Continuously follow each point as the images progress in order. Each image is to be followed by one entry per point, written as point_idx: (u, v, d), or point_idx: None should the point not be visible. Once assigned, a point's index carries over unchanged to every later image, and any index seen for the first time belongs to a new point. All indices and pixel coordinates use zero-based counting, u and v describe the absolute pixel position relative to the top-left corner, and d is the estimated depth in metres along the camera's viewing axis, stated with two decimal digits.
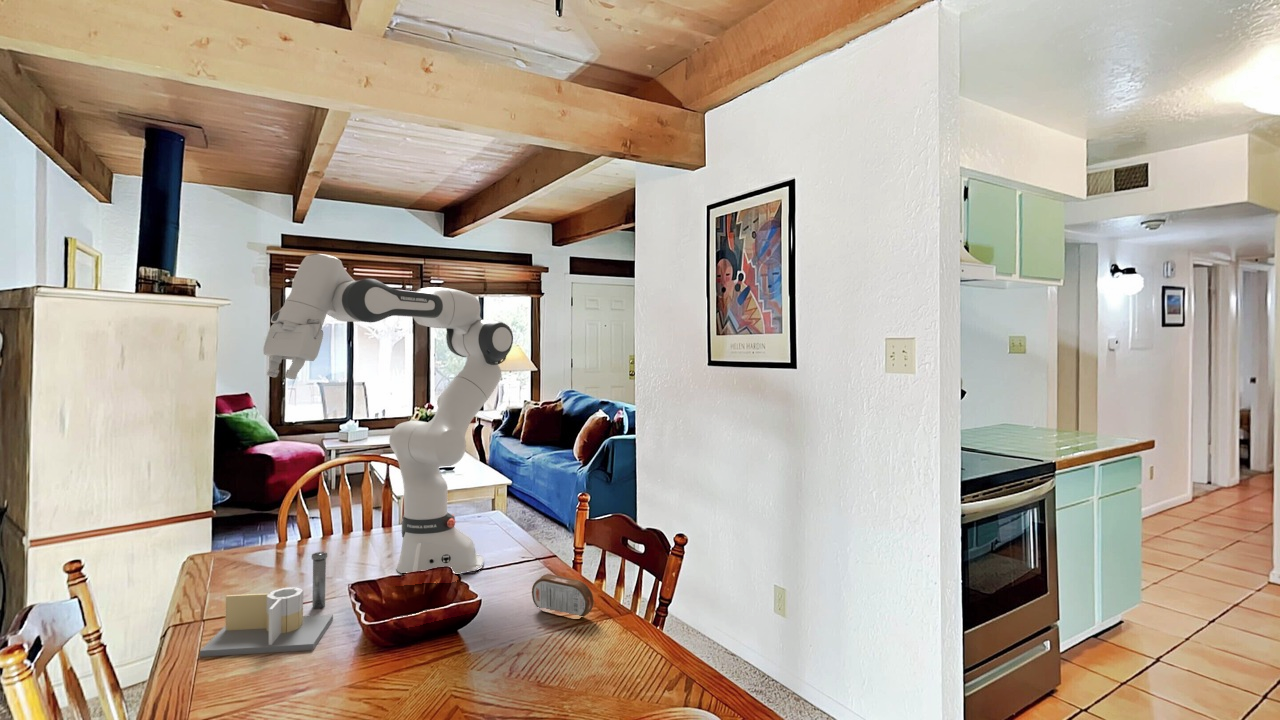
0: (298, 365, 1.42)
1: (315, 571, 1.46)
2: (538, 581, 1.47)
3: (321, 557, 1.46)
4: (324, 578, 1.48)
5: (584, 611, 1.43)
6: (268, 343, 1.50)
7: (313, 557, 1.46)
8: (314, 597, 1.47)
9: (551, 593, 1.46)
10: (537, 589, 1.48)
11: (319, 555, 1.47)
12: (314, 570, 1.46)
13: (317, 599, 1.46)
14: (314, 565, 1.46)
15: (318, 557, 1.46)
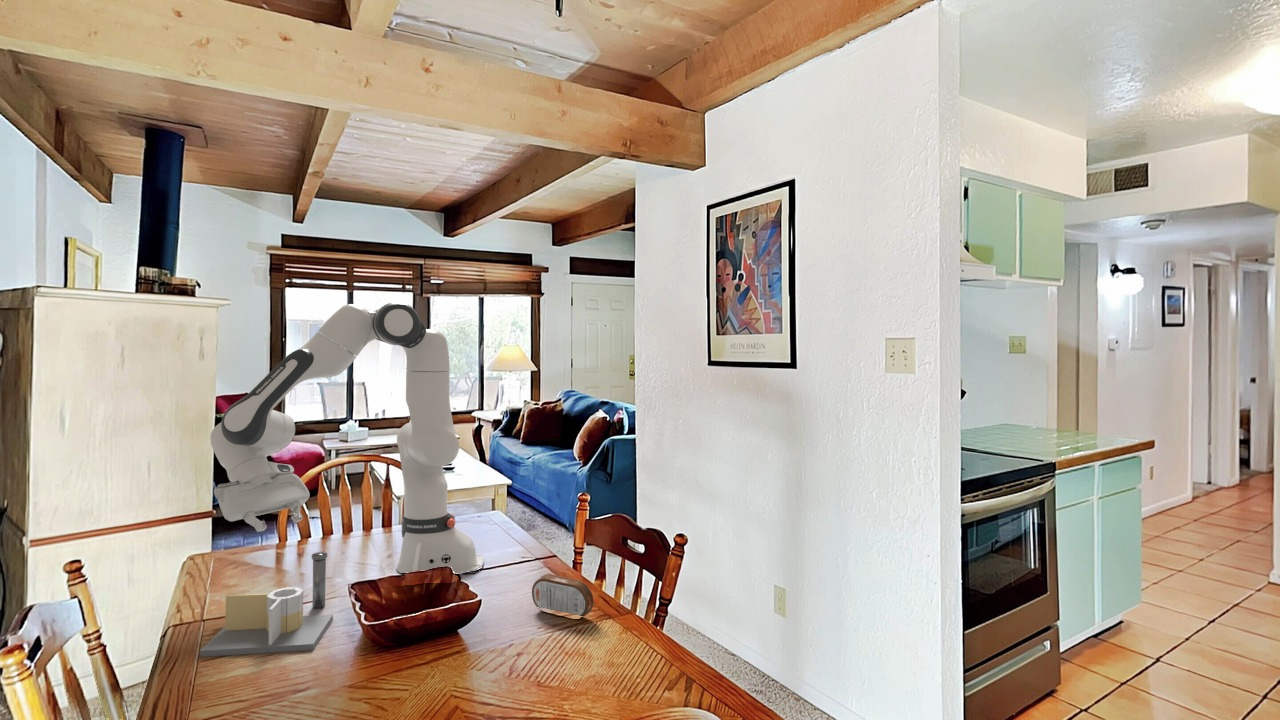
0: (249, 520, 1.47)
1: (315, 571, 1.46)
2: (538, 581, 1.47)
3: (321, 557, 1.46)
4: (324, 578, 1.48)
5: (584, 611, 1.43)
6: None
7: (313, 557, 1.46)
8: (314, 597, 1.47)
9: (551, 593, 1.46)
10: (537, 589, 1.48)
11: (319, 555, 1.47)
12: (314, 570, 1.46)
13: (317, 599, 1.46)
14: (314, 565, 1.46)
15: (318, 557, 1.46)
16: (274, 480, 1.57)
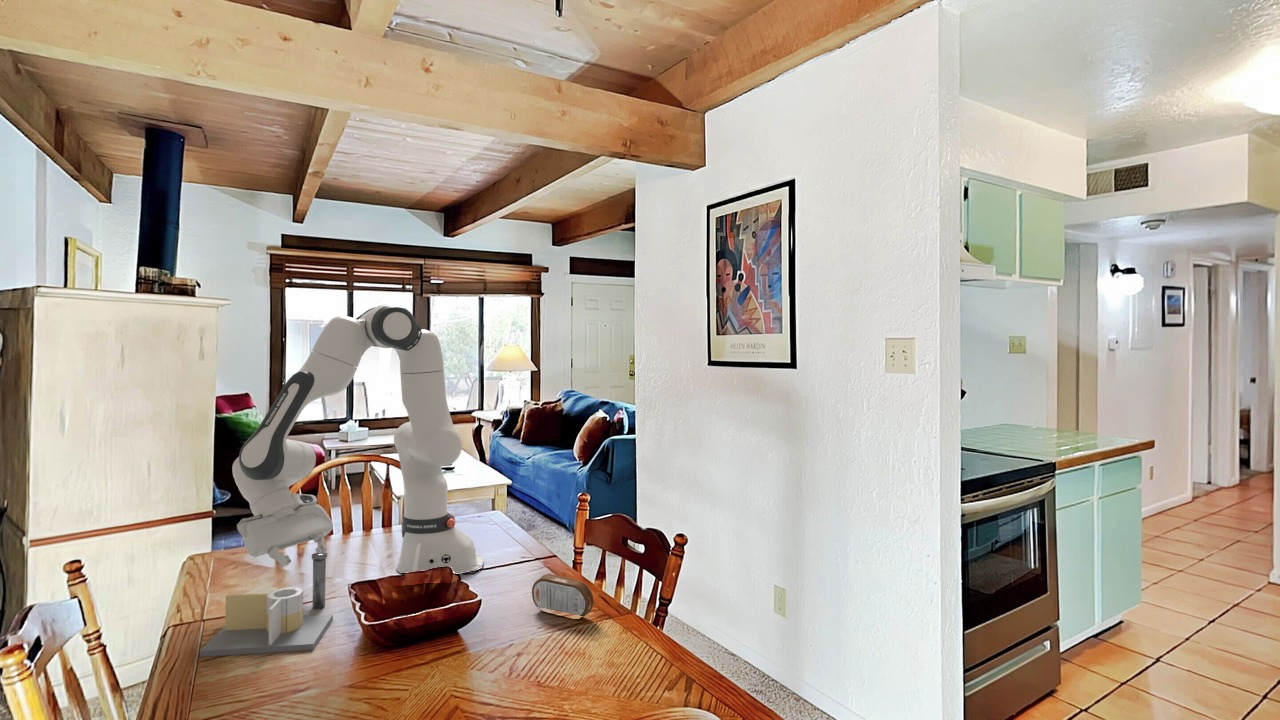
0: (273, 554, 1.44)
1: (315, 571, 1.46)
2: (538, 581, 1.47)
3: (321, 557, 1.46)
4: (324, 578, 1.48)
5: (584, 611, 1.43)
6: None
7: (313, 557, 1.46)
8: (314, 597, 1.47)
9: (551, 593, 1.46)
10: (537, 589, 1.48)
11: (319, 555, 1.47)
12: (314, 570, 1.46)
13: (317, 599, 1.46)
14: (314, 565, 1.46)
15: (318, 557, 1.46)
16: (297, 512, 1.54)
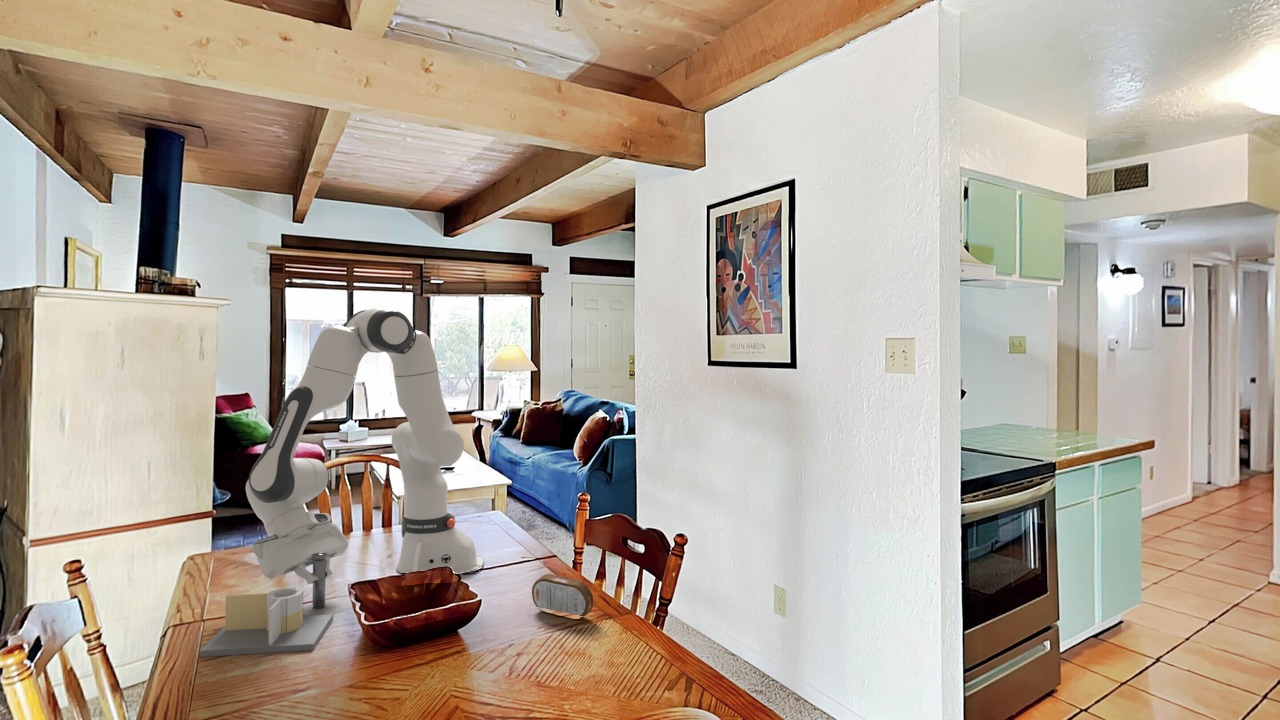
0: (300, 572, 1.45)
1: (315, 571, 1.46)
2: (538, 581, 1.47)
3: (321, 557, 1.46)
4: (324, 578, 1.48)
5: (584, 611, 1.43)
6: None
7: (313, 557, 1.46)
8: (314, 597, 1.46)
9: (551, 593, 1.46)
10: (537, 589, 1.48)
11: (319, 555, 1.47)
12: (314, 570, 1.46)
13: (317, 599, 1.46)
14: (314, 565, 1.46)
15: (318, 557, 1.46)
16: (312, 531, 1.52)
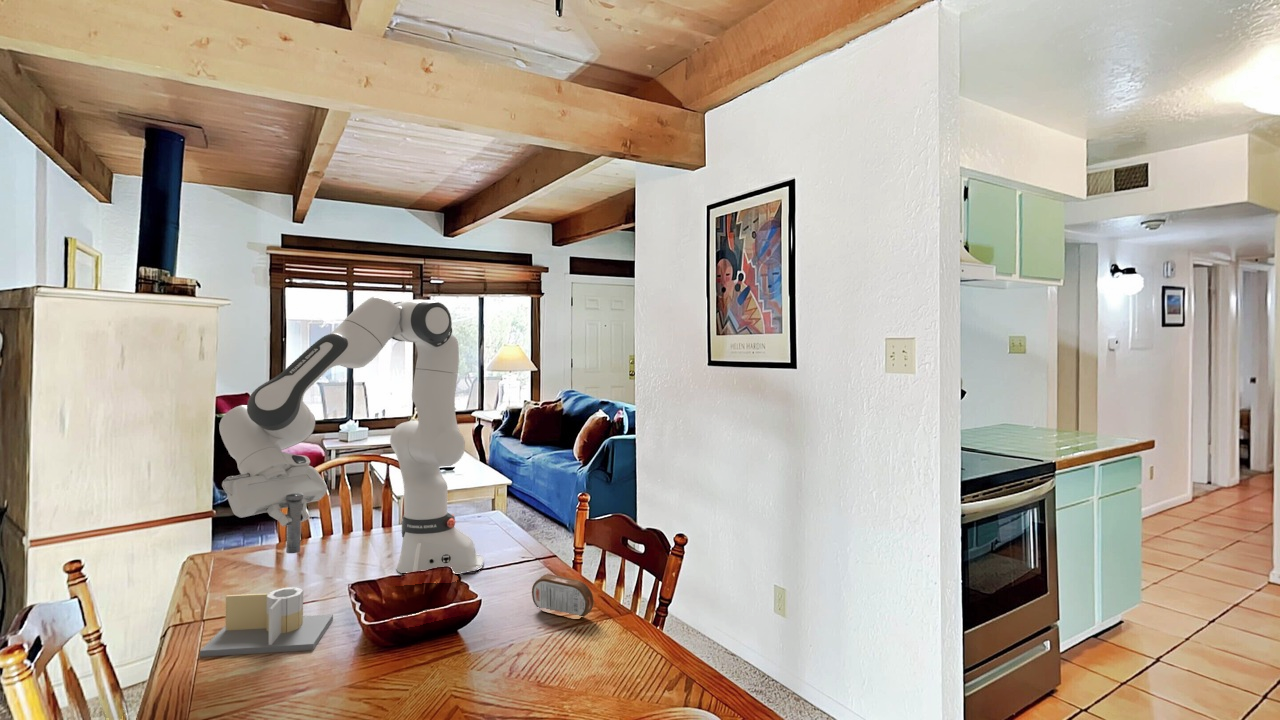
0: (274, 513, 1.35)
1: (290, 513, 1.37)
2: (538, 581, 1.47)
3: (296, 498, 1.37)
4: (299, 521, 1.38)
5: (584, 611, 1.43)
6: None
7: (288, 497, 1.36)
8: (288, 541, 1.37)
9: (551, 593, 1.46)
10: (537, 589, 1.48)
11: (294, 496, 1.37)
12: (289, 512, 1.37)
13: (291, 543, 1.37)
14: (289, 506, 1.37)
15: (293, 498, 1.36)
16: (288, 472, 1.43)
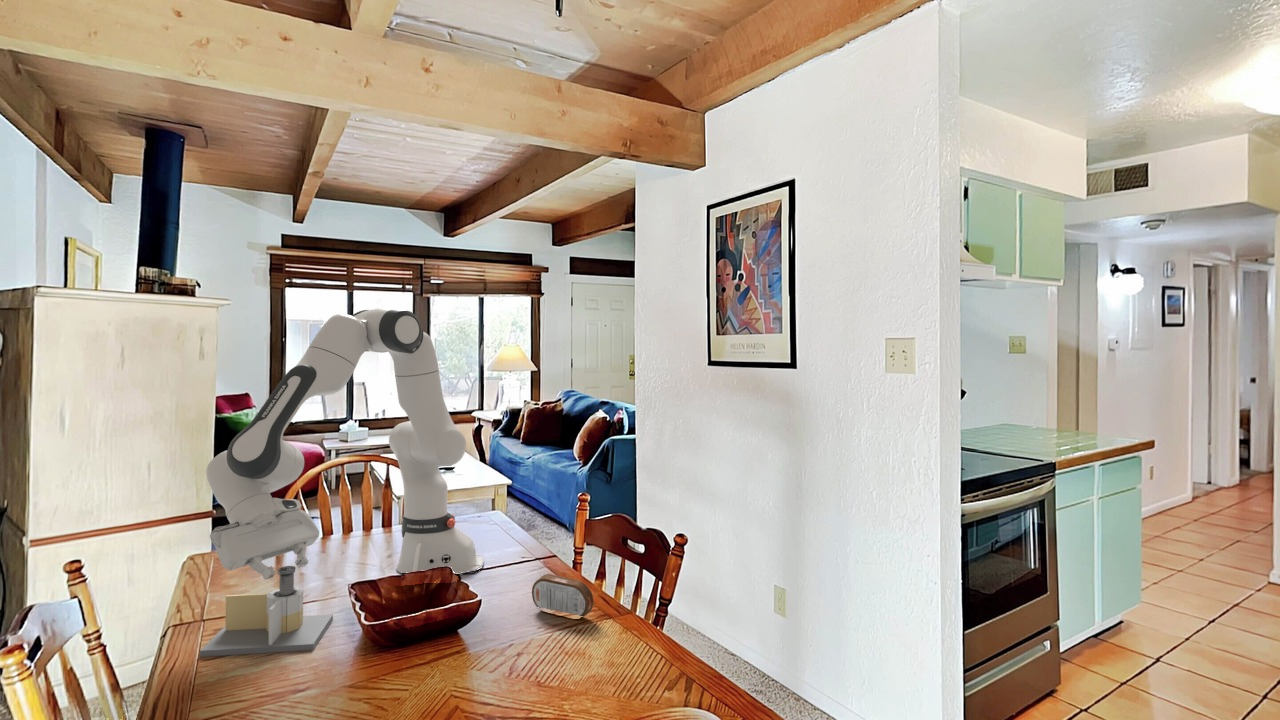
0: (256, 566, 1.30)
1: (282, 587, 1.33)
2: (538, 581, 1.47)
3: (288, 572, 1.33)
4: None
5: (584, 611, 1.43)
6: None
7: (279, 572, 1.33)
8: None
9: (551, 593, 1.46)
10: (537, 589, 1.48)
11: (286, 570, 1.34)
12: (281, 586, 1.33)
13: None
14: (281, 581, 1.33)
15: (285, 572, 1.33)
16: (279, 519, 1.39)
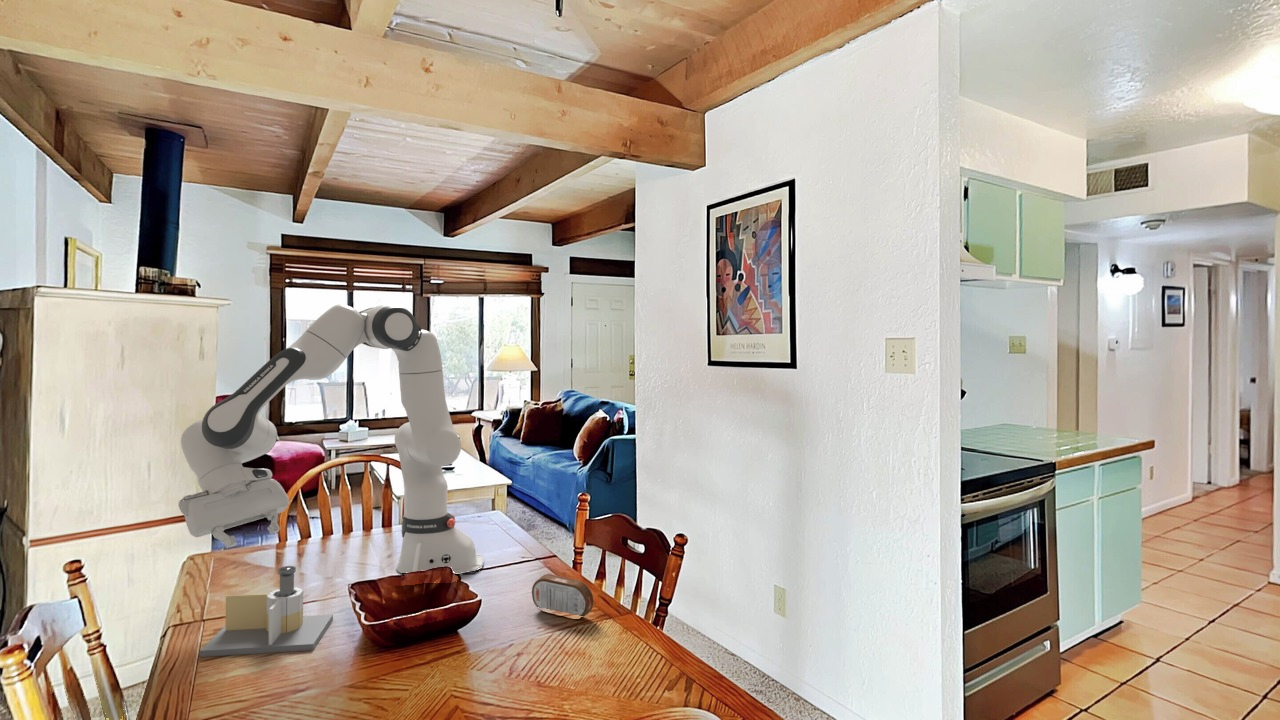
0: (217, 535, 1.35)
1: (282, 587, 1.33)
2: (538, 581, 1.47)
3: (288, 572, 1.33)
4: None
5: (584, 611, 1.43)
6: None
7: (280, 572, 1.33)
8: None
9: (551, 593, 1.46)
10: (537, 589, 1.48)
11: (286, 570, 1.34)
12: (281, 586, 1.33)
13: None
14: (281, 581, 1.33)
15: (285, 572, 1.33)
16: (249, 488, 1.45)
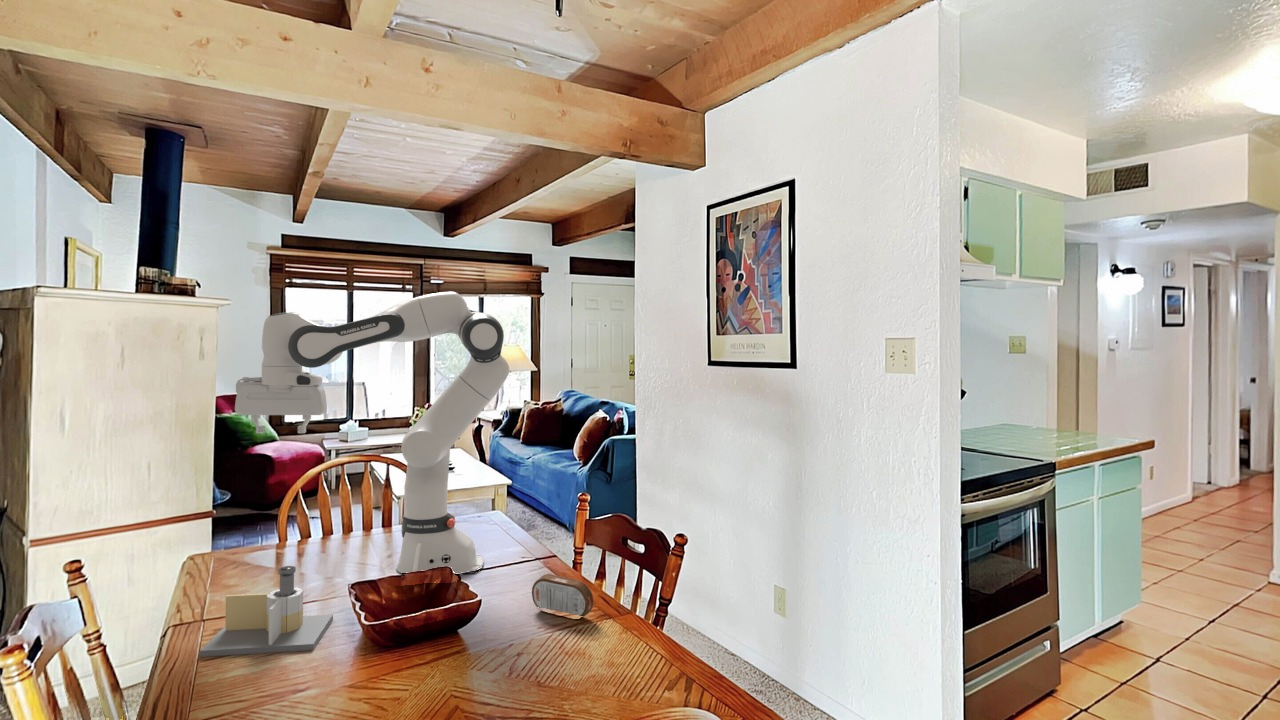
0: None
1: (282, 587, 1.33)
2: (538, 581, 1.47)
3: (288, 572, 1.33)
4: None
5: (584, 611, 1.43)
6: None
7: (280, 572, 1.33)
8: None
9: (551, 593, 1.46)
10: (537, 589, 1.48)
11: (286, 570, 1.34)
12: (281, 586, 1.33)
13: None
14: (281, 581, 1.33)
15: (285, 572, 1.33)
16: (291, 389, 1.60)
